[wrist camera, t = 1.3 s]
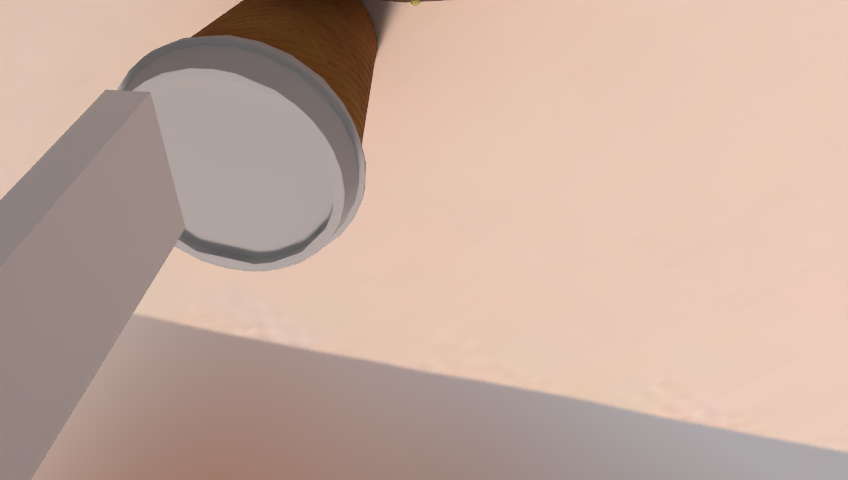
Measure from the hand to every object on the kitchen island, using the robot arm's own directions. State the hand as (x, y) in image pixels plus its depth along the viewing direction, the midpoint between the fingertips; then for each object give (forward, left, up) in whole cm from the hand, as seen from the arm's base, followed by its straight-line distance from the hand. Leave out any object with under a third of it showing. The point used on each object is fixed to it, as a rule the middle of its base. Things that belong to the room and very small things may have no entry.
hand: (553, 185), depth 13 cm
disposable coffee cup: (-1, -14, -24) cm, 28 cm away
